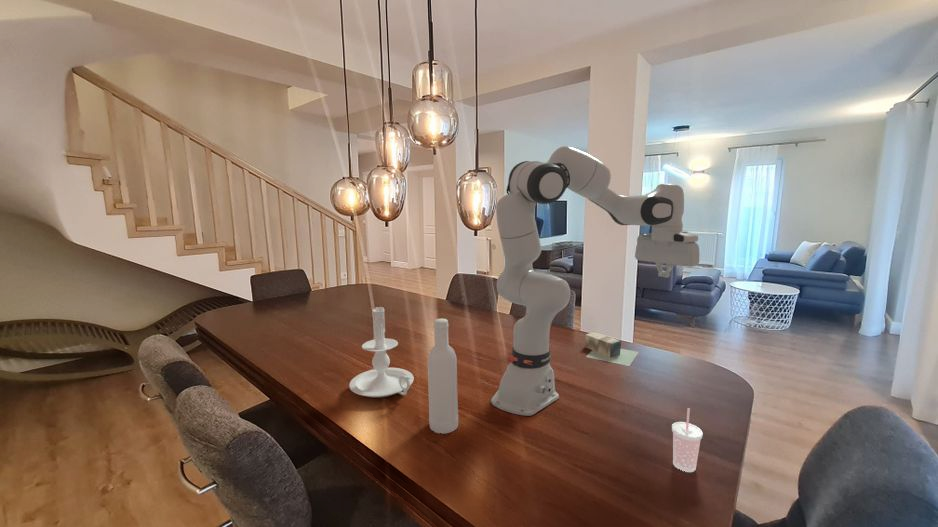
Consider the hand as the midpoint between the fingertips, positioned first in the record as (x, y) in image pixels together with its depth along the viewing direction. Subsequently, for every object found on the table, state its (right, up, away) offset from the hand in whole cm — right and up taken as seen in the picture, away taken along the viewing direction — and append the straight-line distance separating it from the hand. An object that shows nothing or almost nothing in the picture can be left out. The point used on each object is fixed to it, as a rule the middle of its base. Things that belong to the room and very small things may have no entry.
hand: (663, 276), depth 128 cm
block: (-7, -29, +22) cm, 37 cm away
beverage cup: (-15, -42, -39) cm, 59 cm away
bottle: (-71, -40, -22) cm, 85 cm away
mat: (-8, -32, +25) cm, 41 cm away
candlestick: (-91, -38, -2) cm, 99 cm away
